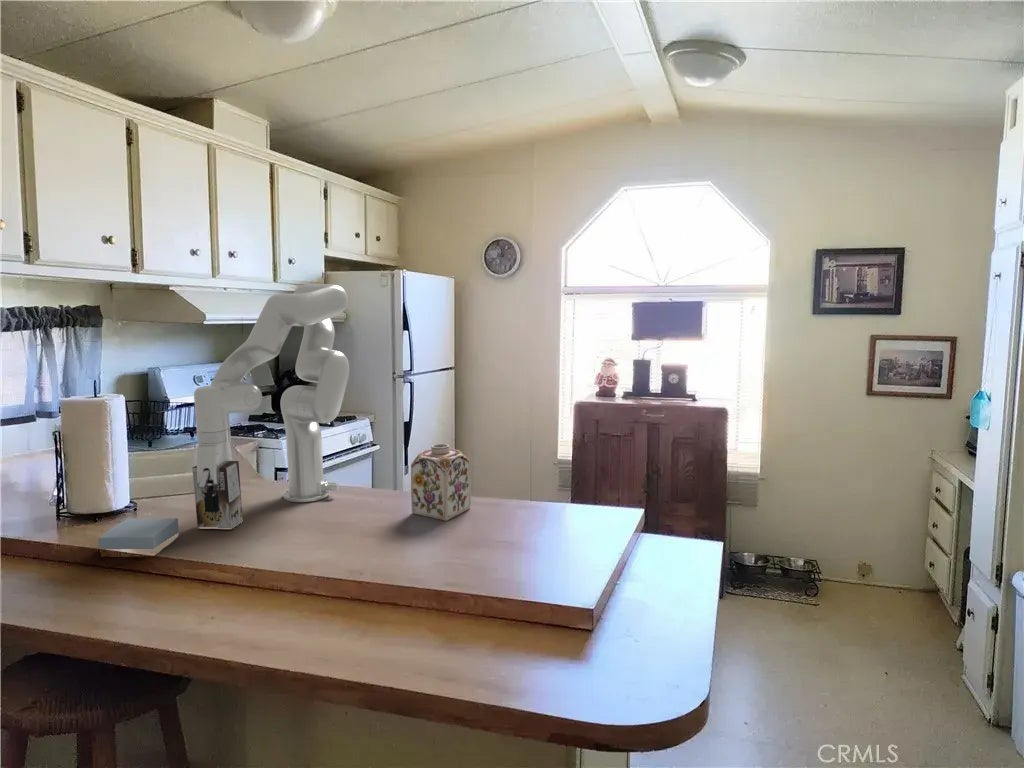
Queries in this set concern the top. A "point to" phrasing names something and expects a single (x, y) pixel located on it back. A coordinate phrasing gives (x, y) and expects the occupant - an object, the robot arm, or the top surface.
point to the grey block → (139, 533)
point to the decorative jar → (440, 483)
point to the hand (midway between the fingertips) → (219, 505)
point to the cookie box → (221, 499)
